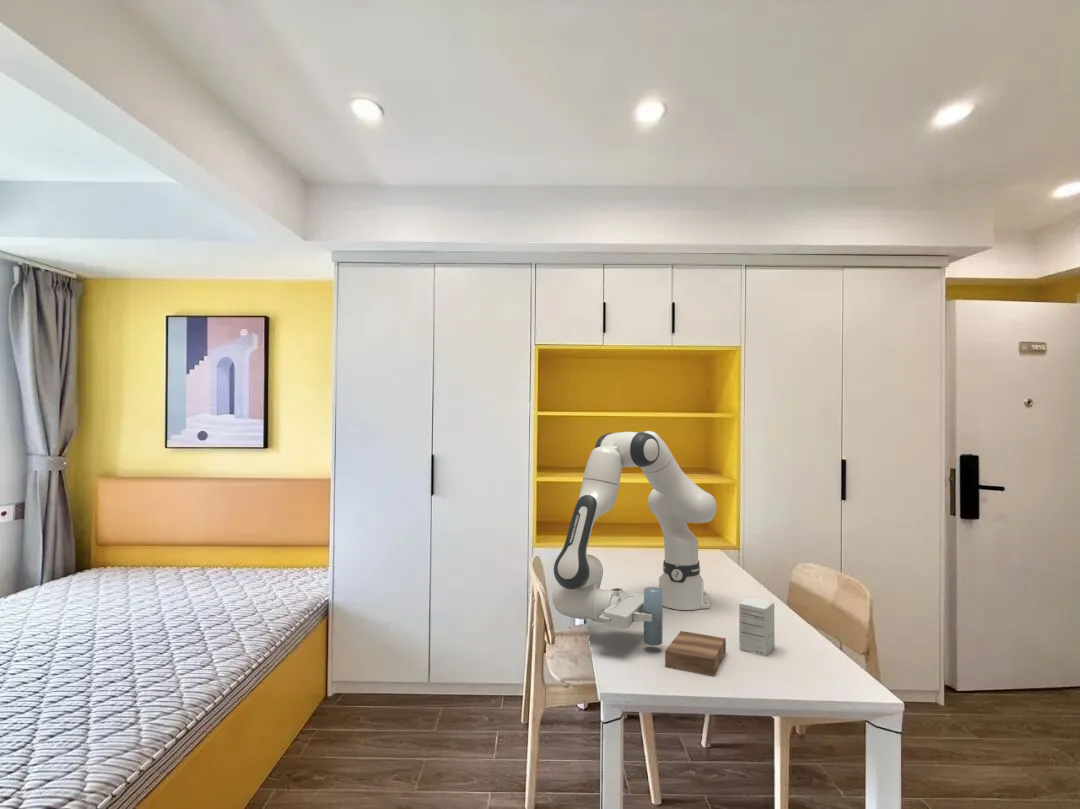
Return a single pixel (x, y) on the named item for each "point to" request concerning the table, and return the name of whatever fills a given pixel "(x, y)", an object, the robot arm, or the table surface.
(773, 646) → the supplement box
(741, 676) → the table surface
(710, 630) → the table surface
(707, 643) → the plate
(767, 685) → the table surface
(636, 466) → the robot arm
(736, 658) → the table surface
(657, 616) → the slate cylinder
